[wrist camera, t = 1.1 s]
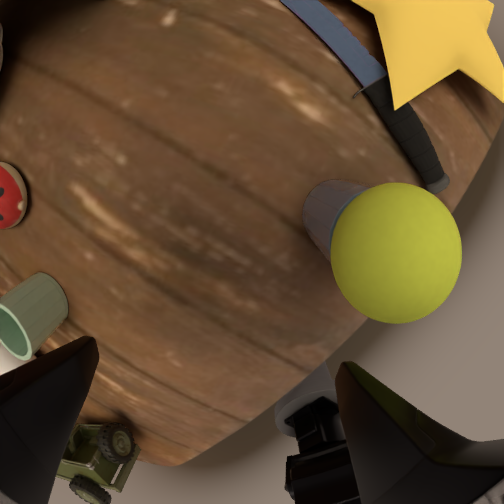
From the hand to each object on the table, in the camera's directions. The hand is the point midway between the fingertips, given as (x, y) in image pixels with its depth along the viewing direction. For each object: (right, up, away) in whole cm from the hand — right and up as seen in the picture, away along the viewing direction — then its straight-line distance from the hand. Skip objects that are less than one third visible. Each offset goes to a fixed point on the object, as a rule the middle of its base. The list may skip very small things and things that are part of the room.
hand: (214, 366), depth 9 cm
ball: (+8, +4, +3) cm, 9 cm away
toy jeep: (-24, -30, +15) cm, 41 cm away
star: (+8, +32, +2) cm, 33 cm away
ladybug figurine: (-24, +10, +10) cm, 28 cm away
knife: (+11, +20, +6) cm, 23 cm away
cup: (-20, -1, +13) cm, 24 cm away
